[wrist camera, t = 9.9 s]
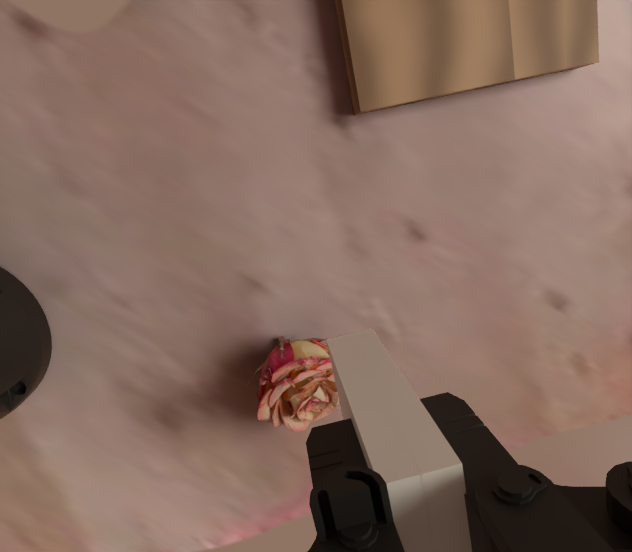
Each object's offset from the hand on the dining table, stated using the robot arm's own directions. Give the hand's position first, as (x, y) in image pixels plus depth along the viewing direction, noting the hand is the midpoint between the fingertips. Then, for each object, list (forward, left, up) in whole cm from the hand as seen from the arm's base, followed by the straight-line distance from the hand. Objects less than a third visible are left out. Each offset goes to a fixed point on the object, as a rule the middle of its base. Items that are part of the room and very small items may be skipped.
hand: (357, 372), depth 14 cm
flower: (-2, -12, -27) cm, 29 cm away
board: (+17, +17, -26) cm, 36 cm away
